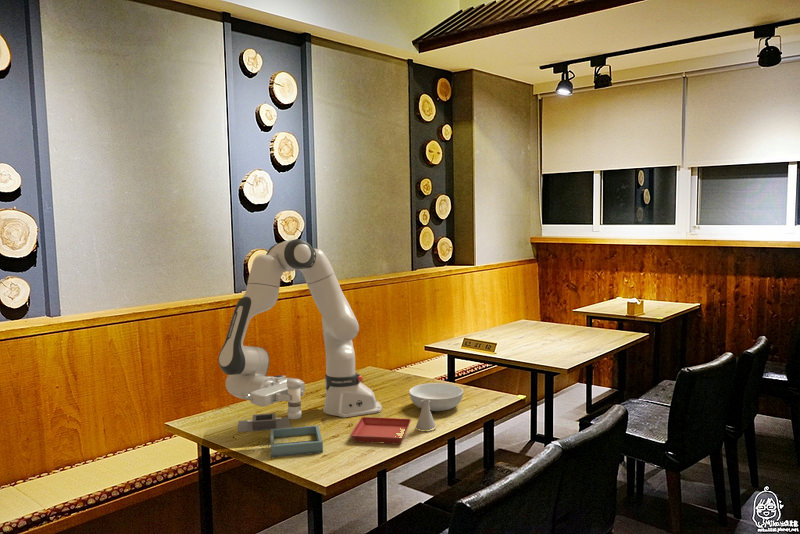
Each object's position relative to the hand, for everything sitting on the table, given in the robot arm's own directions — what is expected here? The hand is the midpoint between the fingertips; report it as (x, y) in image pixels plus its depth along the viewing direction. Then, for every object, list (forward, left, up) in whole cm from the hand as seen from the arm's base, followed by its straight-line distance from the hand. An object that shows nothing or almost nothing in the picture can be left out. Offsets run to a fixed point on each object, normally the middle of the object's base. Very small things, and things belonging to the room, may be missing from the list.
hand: (296, 396), depth 199 cm
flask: (-44, -6, -17) cm, 48 cm away
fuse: (+1, -1, -7) cm, 7 cm away
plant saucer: (-28, -4, -17) cm, 34 cm away
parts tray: (+1, -1, -17) cm, 17 cm away
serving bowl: (-54, -28, -17) cm, 63 cm away
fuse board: (+11, -22, -17) cm, 29 cm away
